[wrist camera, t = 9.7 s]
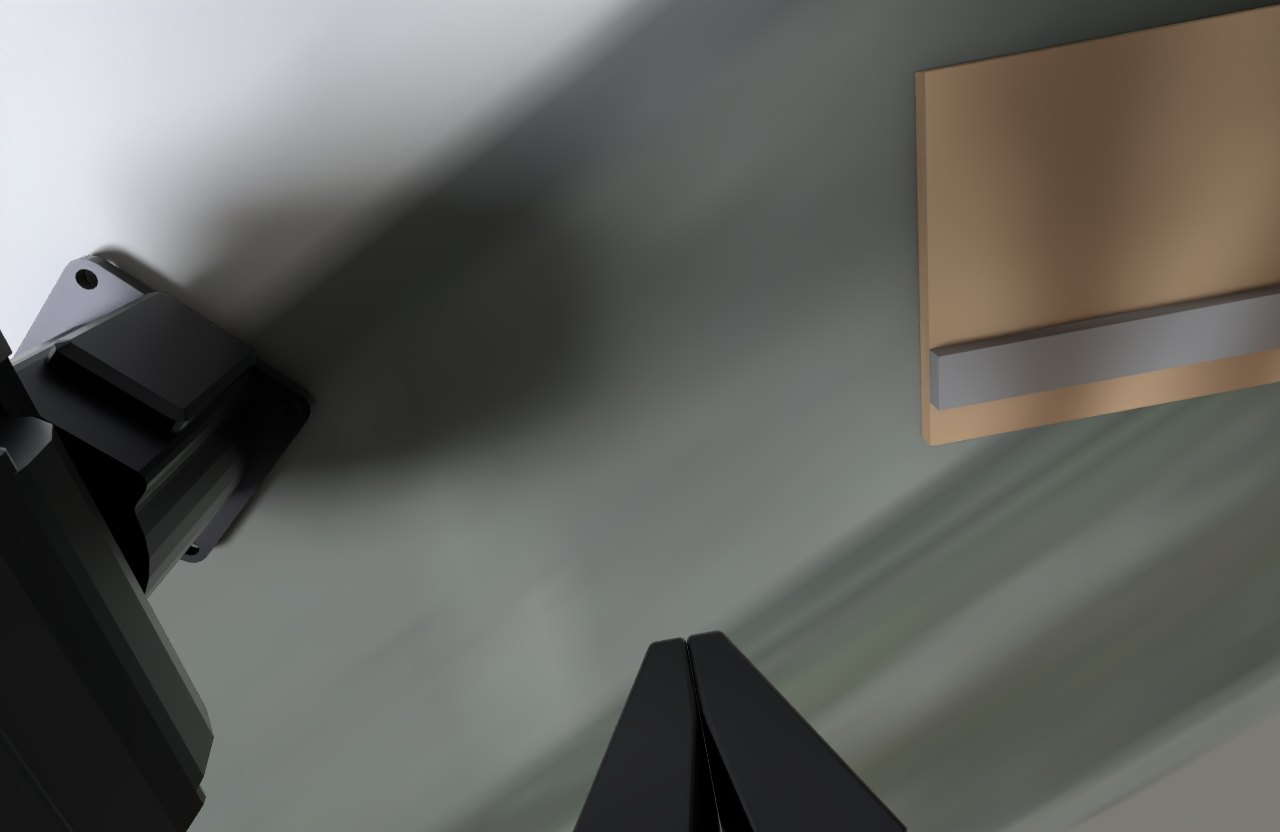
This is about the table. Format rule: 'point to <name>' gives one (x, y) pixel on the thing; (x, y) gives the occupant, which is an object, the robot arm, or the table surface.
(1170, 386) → the bolt board
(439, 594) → the table surface
